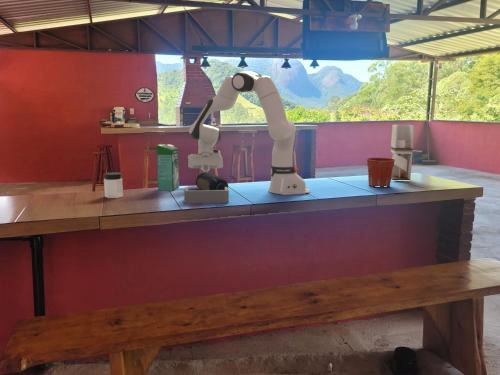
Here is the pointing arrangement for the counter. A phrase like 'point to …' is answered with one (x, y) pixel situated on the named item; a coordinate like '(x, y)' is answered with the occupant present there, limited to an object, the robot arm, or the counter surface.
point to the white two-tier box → (402, 151)
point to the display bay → (206, 196)
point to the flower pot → (380, 171)
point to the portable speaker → (210, 182)
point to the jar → (113, 185)
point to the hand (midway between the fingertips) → (205, 173)
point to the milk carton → (167, 167)
